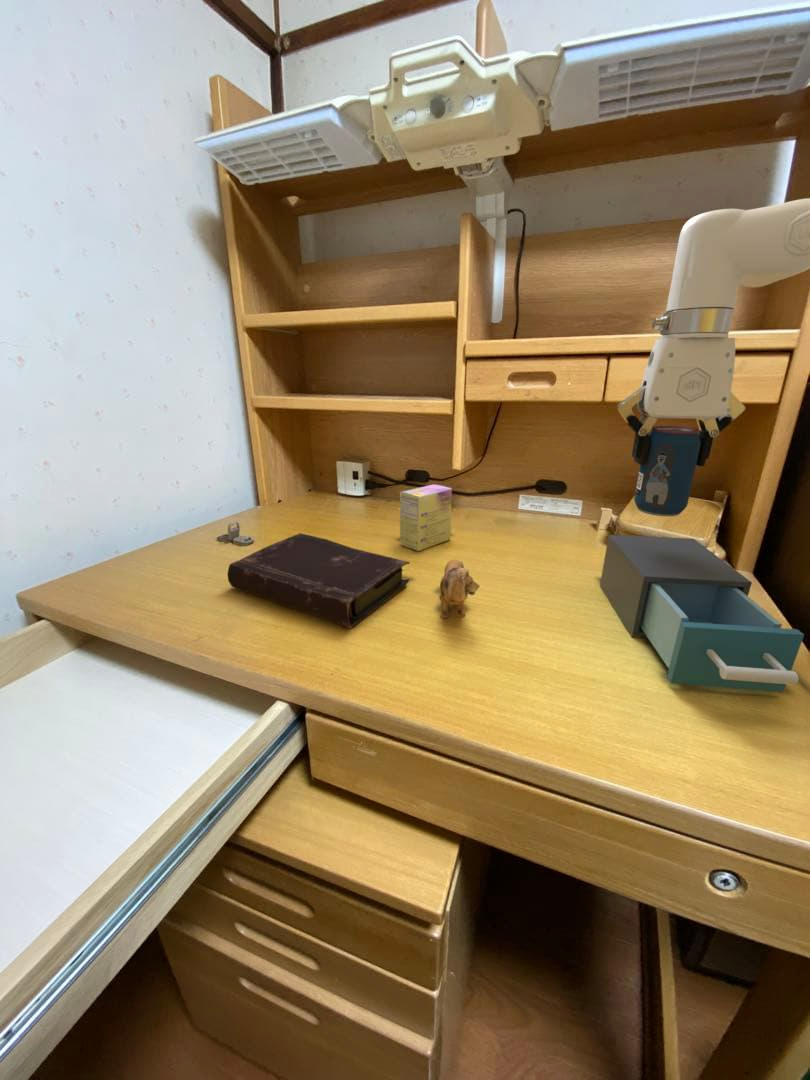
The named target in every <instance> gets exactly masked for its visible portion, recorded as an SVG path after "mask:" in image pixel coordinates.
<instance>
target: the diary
mask: <svg viewBox="0 0 810 1080" xmlns="http://www.w3.org/2000/svg"><path fill="white" fill-rule="evenodd" d="M409 564H410V561H408V560H404V559H399V558H395V557H390V556H386V555H383V554H379V553H375V552H370V551H366V550H362V549H358V548H353V547H351V546H348V545H344V544H341V543H339V542H337V541H333V540H330V539H327V538H323V537H318V536H313V535H310V534H307V533H306V534H305V533H297V534H295V535H292V536H290V537H286V538H284V539H282V540H280V541H277V542H275V543H272V544H270V545H267V546H264V547H263V548H261V549H259V550H256V551H255V552H253V553H251V554H249V555H246V556H244V557H242V558H241V559H238V560H235V561H234V562H231V563H229V565H228V569H227V573H226V574H227V581H228V583H229V584H230V586H231V587H232V588H233V589H237V590H239V591H240V590H241V591H243V592H247V593H250V594H253V595H257V596H259V597H263V598H265V599H268V600H271V601H273V602H274V603H278V604H280V605H283V606H285V607H289V608H292V609H295V610H298V611H300V612H305V613H308V614H310V615H314V616H317V617H320V618H322V619H325V620H328V621H330V622H332V623H335V624H337V625H340V626H342V627H345V628H348V629H352V627H354V626H355V625H356V624H358V622H360V621H362V620H363V619H364V618H366V617H367V616H368V615H369V614H371V613H372V612H374V611H375V610H376V609H378V608H379V607H380V606H382V605H383V604H384V603H385V602H388V601H389V600H390V599H391V598H392V597H393V596H395V595H396V594H397V593H398V592H399V591H401V590H402V589H403V588H404V587H405V586H406V585H407V584H408V582H410V579H409V578H405V579H404V578H403V571H404V569H403V567H404V566H406V565H409Z"/></svg>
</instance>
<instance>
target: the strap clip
mask: <svg viewBox="0 0 810 1080" xmlns="http://www.w3.org/2000/svg"><path fill="white" fill-rule="evenodd" d="M235 525H236V526H235ZM232 526H235V527H233V528H232ZM240 528H241V527H240V523H239V521H232V522H230V523H229V524H228V526H227V534H222V535H219V536H217V537H216V540H218V541H220V542H224V543H231V542H232V543H233V544H235V545H238V546H247V545H250V544H253V543H254V541H255V539H254V538H253V537H251V536H246V535H240V533H241V532H240V531H241V529H240Z"/></svg>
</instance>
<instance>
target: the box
mask: <svg viewBox="0 0 810 1080" xmlns="http://www.w3.org/2000/svg"><path fill="white" fill-rule="evenodd" d="M452 493H453V488H452V487H448V486H444V485H440V484H435V483H434V484H429V485H424V486H422V487H421V486H420V487H416V488H412V489H407V490H403V491H400V492H399V545H400V546H403V547H405V548H408V549H411V550H414V551H417V552H420V551H422V550H425V549H428V548H431V547H433V546H436V545H438V544H442V543H444V542H446V541H447V542H449V541H450V540H451V526H452V525H451V524H452V523H451V522H452V521H451V520H452V500H453V499H452V498H453V497H452V496H453V494H452Z"/></svg>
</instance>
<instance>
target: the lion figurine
mask: <svg viewBox="0 0 810 1080" xmlns="http://www.w3.org/2000/svg"><path fill="white" fill-rule="evenodd" d="M439 585H440V586H439V589H440V590H439V591H440V595H439V599H440V602H441V613H440V614H439V617H440V618H442V619H448V618H449V606H448V605H456V609H455V613H456V616H457V617H459V618H463V617H465V616H466V612H465V611H463V609H464V608H463V607H464V603H465V600H466V599H467V598H468V596H471V597H474V596H475V594H476V592H477V591H478V589H479V588H480V584H478V583H477V582H476V581H475V580H474V578H473V577H472V576H471V575H470V572H469V568H467V567H465V566H464V563H463V561H461V560H459V559H457V558H455V559H451V560H448V561H447V562H446V565H445V567H444V573H443V577H442V578H441V581H440V583H439Z"/></svg>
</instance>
